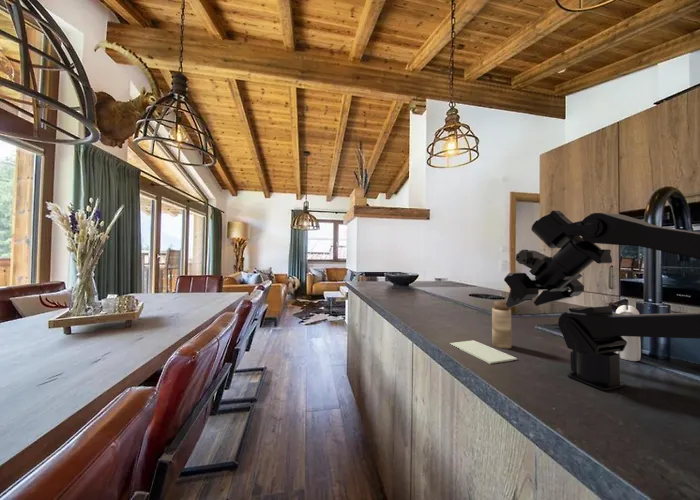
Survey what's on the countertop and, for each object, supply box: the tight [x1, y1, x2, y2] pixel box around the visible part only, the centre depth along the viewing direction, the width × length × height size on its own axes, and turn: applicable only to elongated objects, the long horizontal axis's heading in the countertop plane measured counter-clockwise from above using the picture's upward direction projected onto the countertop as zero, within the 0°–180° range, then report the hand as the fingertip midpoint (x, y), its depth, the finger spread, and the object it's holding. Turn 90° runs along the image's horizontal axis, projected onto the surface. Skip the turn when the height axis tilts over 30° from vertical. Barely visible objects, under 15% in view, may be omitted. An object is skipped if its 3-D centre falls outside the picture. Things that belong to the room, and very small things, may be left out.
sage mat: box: [449, 339, 518, 365], centre depth 69 cm, size 14×8×1 cm, turn 17°
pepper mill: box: [491, 300, 512, 350], centre depth 74 cm, size 5×5×12 cm
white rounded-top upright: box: [615, 304, 642, 362], centre depth 67 cm, size 10×4×12 cm, turn 134°
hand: (521, 305), depth 68 cm, fingers open, 9 cm apart
